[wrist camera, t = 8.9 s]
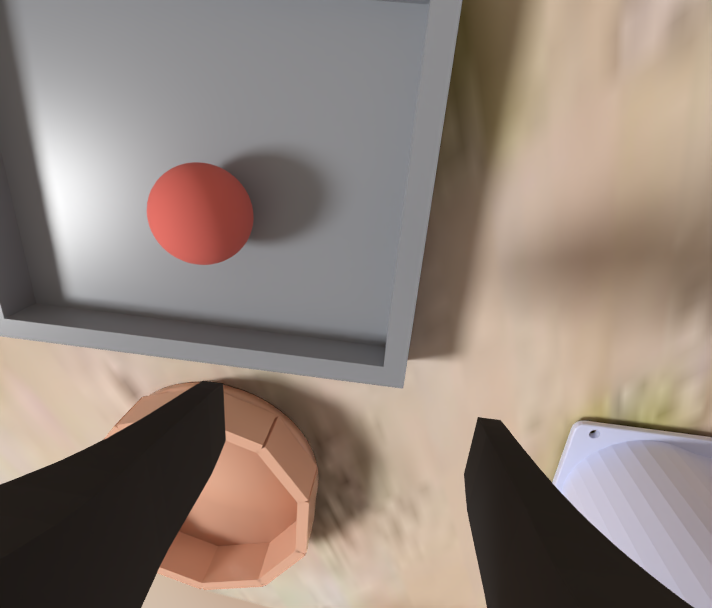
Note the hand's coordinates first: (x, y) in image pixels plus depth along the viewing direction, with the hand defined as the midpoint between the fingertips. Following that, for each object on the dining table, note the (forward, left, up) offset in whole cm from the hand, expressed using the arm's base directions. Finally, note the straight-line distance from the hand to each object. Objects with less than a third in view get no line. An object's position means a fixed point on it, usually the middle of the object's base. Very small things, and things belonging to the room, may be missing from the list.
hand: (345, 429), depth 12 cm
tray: (+8, -5, -9) cm, 13 cm away
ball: (+7, -4, -7) cm, 11 cm away
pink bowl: (+8, +12, -9) cm, 17 cm away
